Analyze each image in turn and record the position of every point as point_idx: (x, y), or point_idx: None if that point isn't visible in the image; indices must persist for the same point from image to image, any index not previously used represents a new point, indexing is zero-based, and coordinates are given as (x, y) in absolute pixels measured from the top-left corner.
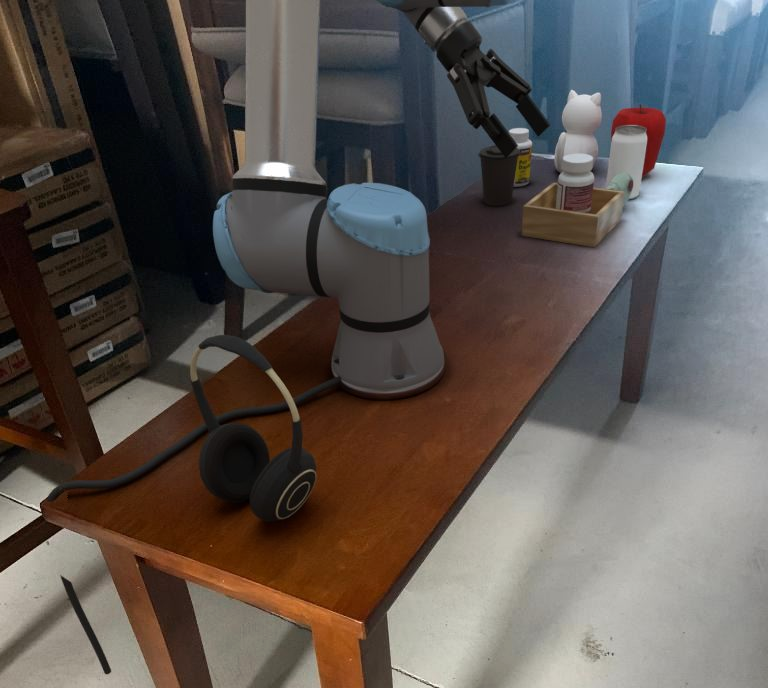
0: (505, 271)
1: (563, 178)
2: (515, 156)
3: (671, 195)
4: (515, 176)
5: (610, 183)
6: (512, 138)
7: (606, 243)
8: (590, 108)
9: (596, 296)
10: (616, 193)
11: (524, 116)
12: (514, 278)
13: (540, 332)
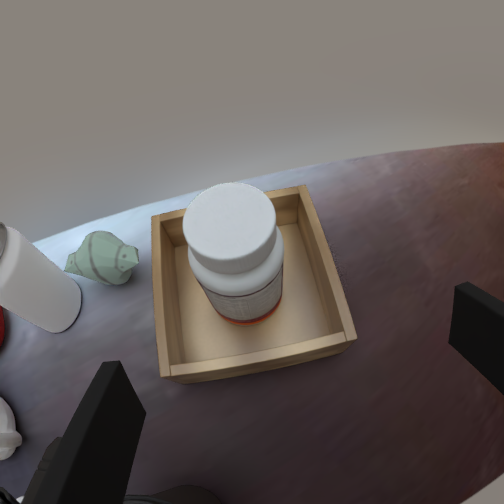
0: (461, 272)
1: (278, 255)
2: (151, 501)
3: (47, 244)
4: None
5: (117, 260)
6: (480, 299)
7: None
8: None
9: (416, 154)
10: (160, 227)
11: (120, 493)
12: (464, 248)
13: (494, 165)
